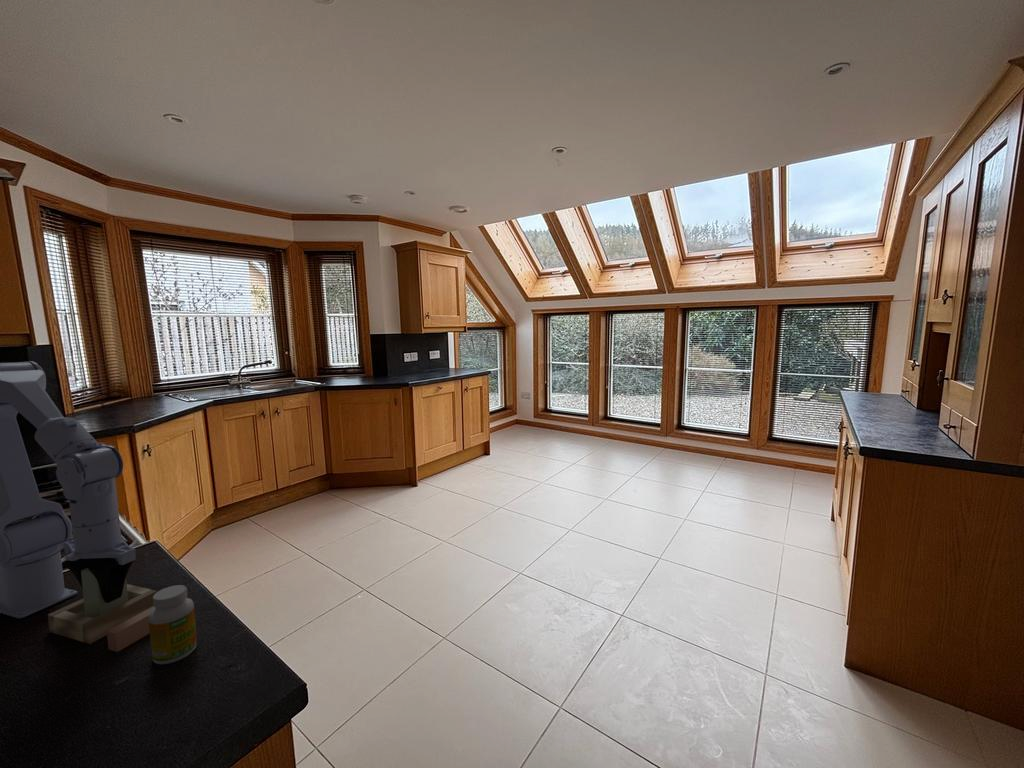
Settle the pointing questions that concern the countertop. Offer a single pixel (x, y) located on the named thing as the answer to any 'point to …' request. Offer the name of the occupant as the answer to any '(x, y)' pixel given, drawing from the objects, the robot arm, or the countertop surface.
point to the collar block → (91, 629)
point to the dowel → (97, 596)
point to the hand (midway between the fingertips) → (104, 597)
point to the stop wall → (129, 631)
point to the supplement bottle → (172, 625)
